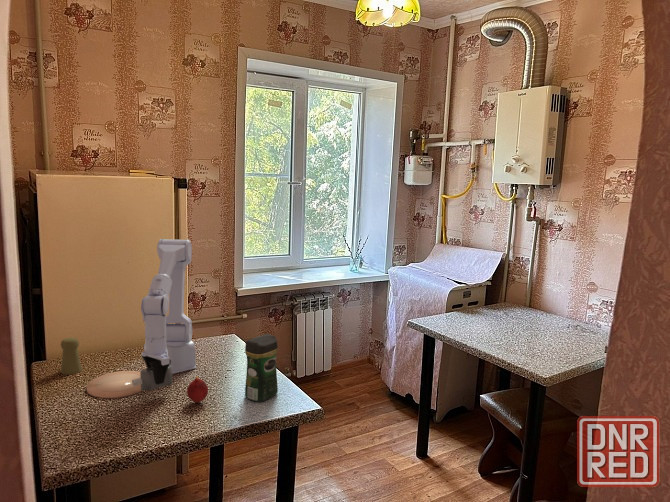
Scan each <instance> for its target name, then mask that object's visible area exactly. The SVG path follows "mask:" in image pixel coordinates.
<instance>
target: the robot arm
mask: <svg viewBox="0 0 670 502" xmlns="http://www.w3.org/2000/svg"><path fill="white" fill-rule="evenodd" d="M156 253H157V256H158V258H159V260H160V261H159V268H158V272H157V274H156V275H154V276H153V277H152V280H151V282H150V285H149V288H148V292H147V294H146V296H144V297H142V300H141V302H140V303H141V305H140V311H141V315H142V321H143V322H144V340H145V341H144V342H145V343H144V344H143V350H144V351H141V359H143V362H144V363H145V367H146V369H147V368H151V367H152V369H153V373H154V378H155V382H156V384H161V383H164V380H165V375H166V372H167V369H168V367H169V365H172V375H174V374H177V373H182V372H186V371H190V370H193V369H197V365H196V347H195V343H194V341H192V337H193V321H192V319H191V318H190V317H189V316H187V315H186V314H185V312H184V307H185V283H186V280H185V279H186V278H185V277H186V276H185V275H186V267H187V266H188V265H191V263H192V257H193V256H192V253H193V246H192V242H191V240H190V239H173V238H172V239H171V238H170V239H164V238H160V239H159V240H158V241H157V246H156Z"/></svg>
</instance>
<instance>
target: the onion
mask: <svg viewBox="0 0 670 502" xmlns="http://www.w3.org/2000/svg"><path fill="white" fill-rule="evenodd" d="M186 393H187V397H188V399H190V400H191V401H192V402H194V403H196V404H199V403H201V402H202V401H204V400H205V399H206V398H207V397H208V393H209V387H208V384H207V383H206V382H205V380H203V379H201V378H199V376H198V375H197V376H195V378H194V379H193V380H192V381H191V382H190V383H189V385H188V386H187V389H186Z"/></svg>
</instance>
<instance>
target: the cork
mask: <svg viewBox="0 0 670 502" xmlns="http://www.w3.org/2000/svg"><path fill="white" fill-rule="evenodd" d="M79 345H80V341H79V339H78V337H77V338H76V337H66V338H63V339H62V340H61V342H60V348H61V349H62V356H61V357H62V358H61V366H60V367H61V368H60V373H61V374H62V375H67V376H68V375H74V374H79V373H80V372H81V371H82V364H81V360H80V354H79V350H78V347H79Z"/></svg>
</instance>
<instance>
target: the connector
mask: <svg viewBox="0 0 670 502" xmlns="http://www.w3.org/2000/svg"><path fill="white" fill-rule="evenodd" d="M139 372H140V374H141V378H138V379H134V380H132V385H133V386H136V385H140V384H141V389H142V390H143V391H151V390H155V389H159V388H163V387H167V386H169V385H172V384H173V374H172V365H169V367H168V369H167V372H166V375H165V380H164V383H161V384H156V382H155V378H154V373H153V369H152V367H151V368H147V367H146V368H143V369H141V370H140V371H139Z"/></svg>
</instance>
